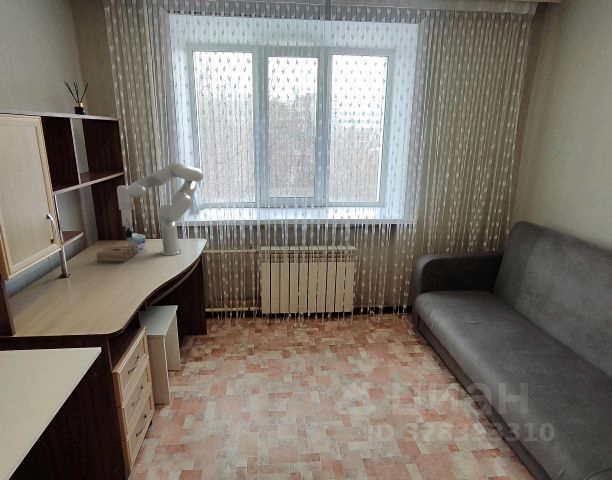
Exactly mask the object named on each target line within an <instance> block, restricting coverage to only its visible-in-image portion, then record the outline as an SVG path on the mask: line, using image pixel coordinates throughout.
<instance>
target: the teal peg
mask: <svg viewBox="0 0 612 480" xmlns="http://www.w3.org/2000/svg"><path fill="white" fill-rule="evenodd" d="M129 226H130V225H129ZM124 227H125V226H124ZM125 230H126V227H125ZM131 231H132V230H131ZM132 232H133V231H132ZM128 241H133V239H132V237H130V238H126V242H128Z"/></svg>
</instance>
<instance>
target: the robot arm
mask: <svg viewBox="0 0 612 480" xmlns="http://www.w3.org/2000/svg"><path fill="white" fill-rule="evenodd" d="M175 178H179V179H183V184H182V185H181V187H180V188H179V189H178V190H177V191H176V192H175V193H174V194H173V195H172V197H171V198H170V199H171V204H172V205H170V204H162V205H161V206H160V207H159V209H158V218H159V223H160V231H161V232H160V233H161V239H162V249H163V250H161V251H160V254H161V255H163V256H175V255H179V254H181V253H182V249H181V248H180V247H179V246H180V243H179V239H178V235H179V234H178V226H177V222H178V221H179V220H180V219H181V218H182V217H183V216H184V215H185V214H186V212H187V211H188V210H189V209H190V208H191V206H192V204H193V201H192V198H191V197H192V196H193V195H194V194H195V192H196V190H197V188H198V183H199V182H201V181H202V180H203V178H204V173H203V171H202V169H200V168H197V167H193V166H189V165H185V164H182V163H178V162H172V163H169V164H168V165H166V166H165V167H163V168H161V169H159V170H157V171H155V172H153V173H151V174H149V175H146V176H143V177H141V178H139V179H137V180H136V181H134V182H132V183H130V185H127V184H126V185H118V186H117V187H116V193H117V201H118V210H120V211H121V222H122V223H121V224H122V227H126V229H125V238H126V239H127V238H130V237H132V234H133V231H131V230H132V225H133V218H132V217H133V216H132V210H133V209H134V206H133V205H134V204H133V198H137V199H138V198H139V199H140V198H143V197H145V196H146V194H147V189H151V188H154V187H159V186H163V185H166V183H168V182H170V181H172V180H173V179H175ZM129 225H130V226H129Z"/></svg>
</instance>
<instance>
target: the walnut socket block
mask: <svg viewBox="0 0 612 480" xmlns="http://www.w3.org/2000/svg"><path fill="white" fill-rule="evenodd" d="M95 254H96V262H97V264H125V263H127V262H128V261H129V260H131V259H132V258H134V257H135V256H136V255H137V253H136V252H135V246H128V245H109V246H108V247H105V248H104V249H102V250H100V251H98V252H96V253H95Z"/></svg>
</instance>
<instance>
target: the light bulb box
mask: <svg viewBox="0 0 612 480" xmlns="http://www.w3.org/2000/svg"><path fill="white" fill-rule="evenodd" d="M132 239H133V241H127V246H135V252H136V254H140V253H144V252H147V251H148V247H147V240H146V239H147V238H146V235H145V234H140V233H136V232H134V233H132Z"/></svg>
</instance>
